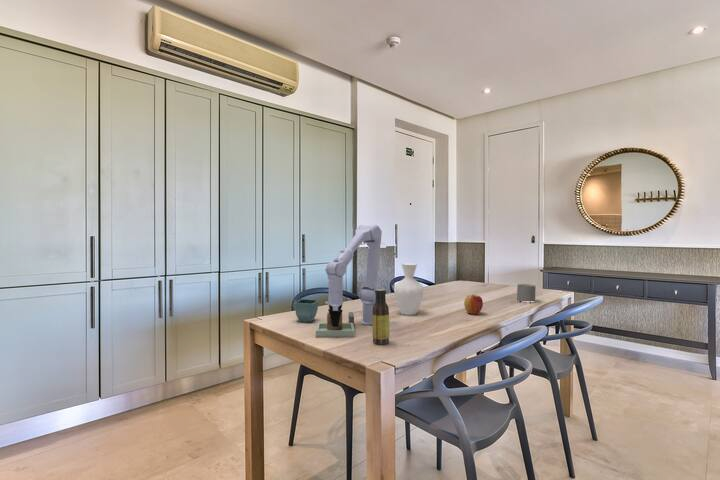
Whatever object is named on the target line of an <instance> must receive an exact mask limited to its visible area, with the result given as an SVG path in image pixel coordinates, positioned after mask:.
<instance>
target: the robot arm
mask: <svg viewBox="0 0 720 480" xmlns="http://www.w3.org/2000/svg"><path fill="white" fill-rule="evenodd" d="M354 231H355V233H354V234H355V235H354V236H353V238H352V239H351V241H350V242H349V243H348V245H347V247H344V248H341V249H340V250H339V253H338V254H337V255H336V256H335V258H334V259H333V260H332V261H329V262H328V263H327V264H326V268H325V273H326V275H327V280H328V301H325V305H328V313H330V316H331V321H332V326H333V327H338V324H339V319H340V315H341V313H342V314H343V309H342V308H343V304H344V302H343V294H344V293H343V287H344V286H343V284H344V283H343V282H344V281H343V279H344V276H345V275H346V272H347V268H348V265H349V264H350V262H351V261H352V259H354V256H355V254H354V253H355V251H357V249H358V248H359V247H360V246H361V244H362V243H364V244H365V245H366V246H367V248H368V251H367V260H366V261H367V262H366V271H365V272H366V273H365V281H364V282H363V283H361V285H360V290H359V292H358V298H359V300H360V301H361V303H362V319H360V321H361V324H362V325H368V326H369V325H373V320H372V314H373V306H374V304H375V302H376V301H375V300H376V294H375V290H376V289H383V287H382V285H381V284H380V283H379V282H378V281H379V270H380V256H381V255H380V253H381V243H382V234H383V233H382V232H383V231H382V230H381V227H380V226H378V225H376V224H374V225H362V224H360V225H359V226H358V227H357V228H356V229H355V230H354Z"/></svg>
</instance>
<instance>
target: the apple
mask: <svg viewBox="0 0 720 480" xmlns="http://www.w3.org/2000/svg"><path fill="white" fill-rule="evenodd" d="M483 301H484V300H483V298H482V297H481V296H480V295H478V294H471V295H470V294H469V295H467V296H466V297H465V299H464V301H463V302H464V303H463V305H464V309H465V311H466V313H467V314H469V313H470V314H469V315H478V314H480V313H481V311H482V308H483V305H484V302H483Z"/></svg>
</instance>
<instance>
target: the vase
mask: <svg viewBox="0 0 720 480" xmlns="http://www.w3.org/2000/svg"><path fill="white" fill-rule="evenodd" d="M417 266H418V264H417V263H410V262H409V263H406V262H405V263H401V267H402V271H403V274H404V278H403V279H401V280H400V281H399V282H397V283H396V284H395V285H394V297H395V301H396V305H397V307H398V310H399V313H400V314H401V315H403V314H405V315H404V316H413V315H412V314H415V315H417V314H418V311H419V308H420V307H421V304H422V303H421V302H422V299H423V295H424V285H422V284H421V282H419V281H418V280H417V279H415V278H414V275H415V273H416V269H417ZM416 313H417V314H416Z"/></svg>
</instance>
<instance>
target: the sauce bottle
mask: <svg viewBox="0 0 720 480" xmlns="http://www.w3.org/2000/svg"><path fill="white" fill-rule="evenodd" d="M375 294H376V300H375V301H376V302H375V304H374V306H373V314H372V320H373V324H372V342H373V343H374V344H375V345H385V344H388V343H389V342H390V311H389V308H390V307H389V306H388V304H387V302H386V295H387V291H386V289H385V288H382V289H376V290H375Z"/></svg>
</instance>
